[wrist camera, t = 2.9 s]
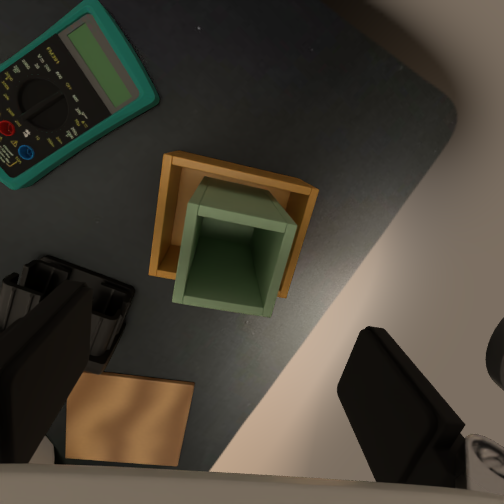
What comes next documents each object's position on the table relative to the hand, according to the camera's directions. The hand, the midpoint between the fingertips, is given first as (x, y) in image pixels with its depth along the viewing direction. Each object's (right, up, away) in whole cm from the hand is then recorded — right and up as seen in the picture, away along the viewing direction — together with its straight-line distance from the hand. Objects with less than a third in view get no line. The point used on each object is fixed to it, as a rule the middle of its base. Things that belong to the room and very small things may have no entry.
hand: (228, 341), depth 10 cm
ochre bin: (-1, +7, +18) cm, 20 cm away
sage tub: (-1, +7, +18) cm, 19 cm away
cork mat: (-14, -18, +26) cm, 35 cm away
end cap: (-17, -2, +20) cm, 26 cm away
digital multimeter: (-15, +15, +14) cm, 25 cm away
